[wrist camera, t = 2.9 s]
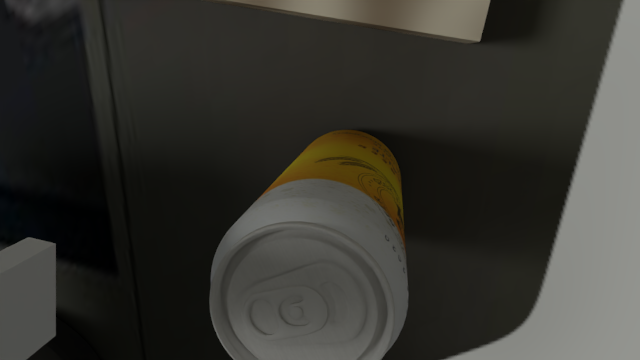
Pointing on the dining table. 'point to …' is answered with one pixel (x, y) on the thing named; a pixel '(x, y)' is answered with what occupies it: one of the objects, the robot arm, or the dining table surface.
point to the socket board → (389, 15)
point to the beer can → (317, 259)
